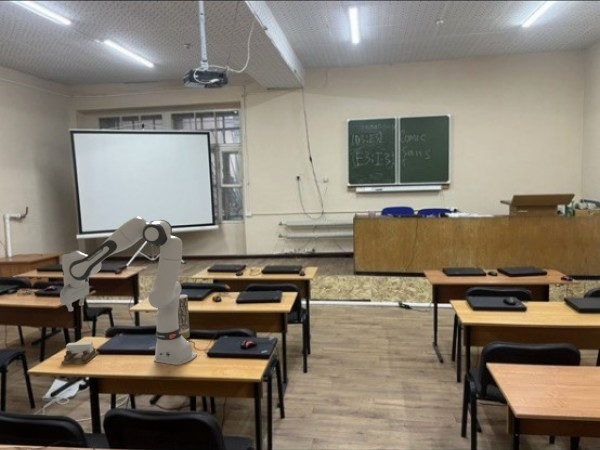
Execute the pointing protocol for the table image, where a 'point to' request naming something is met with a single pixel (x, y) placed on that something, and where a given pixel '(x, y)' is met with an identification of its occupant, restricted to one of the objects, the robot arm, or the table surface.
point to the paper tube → (183, 316)
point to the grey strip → (80, 347)
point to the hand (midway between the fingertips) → (76, 308)
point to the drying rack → (79, 357)
